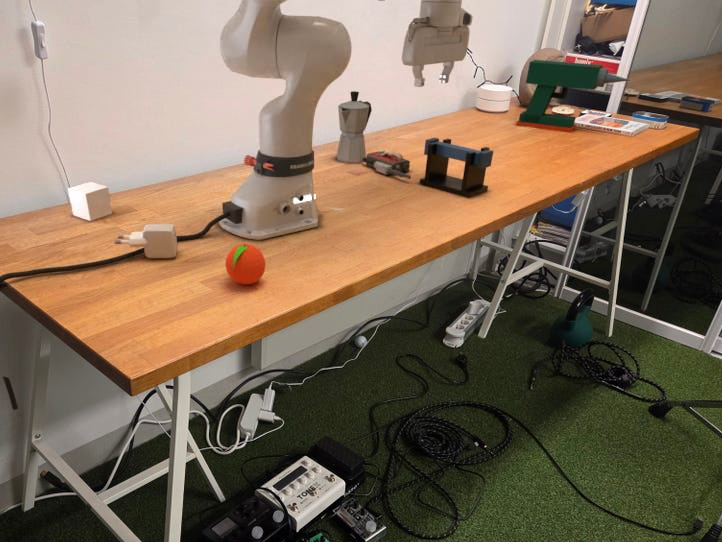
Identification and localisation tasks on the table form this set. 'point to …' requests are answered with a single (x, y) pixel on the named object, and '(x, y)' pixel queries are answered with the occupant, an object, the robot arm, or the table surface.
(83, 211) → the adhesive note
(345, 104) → the coffee maker
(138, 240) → the power adapter
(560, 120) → the power tool
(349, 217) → the table surface
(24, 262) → the table surface
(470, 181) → the holder
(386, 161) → the walkie-talkie
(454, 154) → the handle
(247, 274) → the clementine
